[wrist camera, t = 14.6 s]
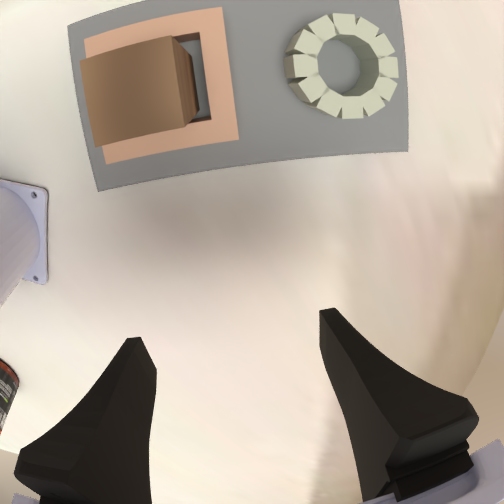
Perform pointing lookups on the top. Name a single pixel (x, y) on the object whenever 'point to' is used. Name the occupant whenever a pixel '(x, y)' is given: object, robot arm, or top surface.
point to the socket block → (258, 83)
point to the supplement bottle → (6, 391)
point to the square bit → (139, 90)
